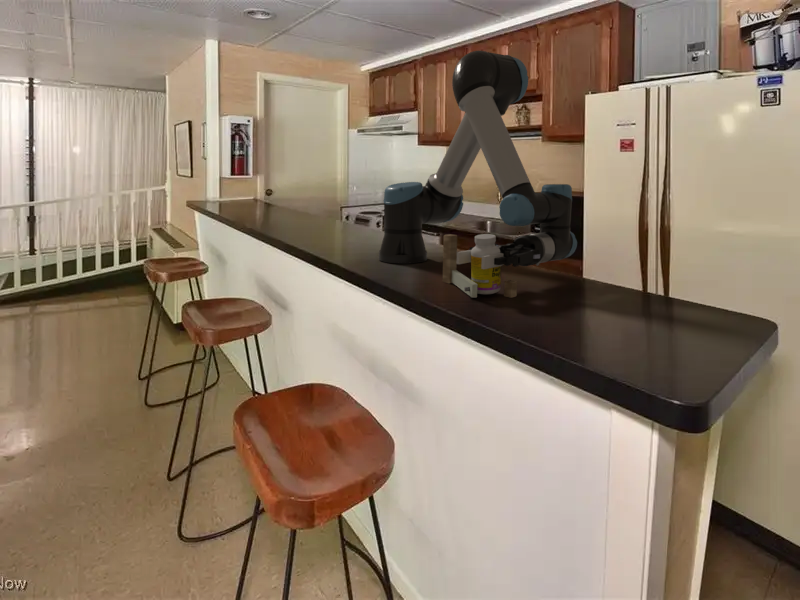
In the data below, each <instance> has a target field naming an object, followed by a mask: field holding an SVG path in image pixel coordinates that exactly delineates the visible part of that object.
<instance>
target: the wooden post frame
mask: <svg viewBox="0 0 800 600" xmlns="http://www.w3.org/2000/svg"><path fill="white" fill-rule="evenodd" d="M442 244H443V247H442V250H443V251H442V283H445V284H449V285H450V284H453V283H452V270H457V264H456V261H457V252H458V235H457V234H450V233H448V234H444V235H443V243H442ZM503 290H504V291H503V297H506V298H510V299H511V298H515V297H517V294H518V292H517V291H518V281H517V280H511V279H509V280H505V281H504V289H503Z"/></svg>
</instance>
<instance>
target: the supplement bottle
mask: <svg viewBox="0 0 800 600" xmlns="http://www.w3.org/2000/svg"><path fill="white" fill-rule="evenodd" d="M496 241H497V237H496V235H495V234H493V233H491V234H489V233H484V234H483V233H482V234H477V235H475V236H474V243H475V246H473V247H474V248H472V250H471V262H470V265H471V266H470V269H471V271H470V272H471V274H470V275H471V280H472V281H473V282H475V283H476V284H478V285H477V295H478V294H479V295H493V294H496V293H498V292H499V291H500V290H501V287H502V285H501V284H502V281H501V279H502V277H501V275H502V273H501V272H502V271H501V269H502V268H501V267H502V266H498V267H493V268H488V269H481V265H482V256H488V255H493V254H499V253H500V249H499V248H498V247H497V246H495V244H496Z"/></svg>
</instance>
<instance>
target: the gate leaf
mask: <svg viewBox="0 0 800 600" xmlns="http://www.w3.org/2000/svg"><path fill="white" fill-rule="evenodd" d="M451 284H453V285H455V286H457V287H458V288H459V289H460V290H461V291H462V292H464V293H465V294H466V295H468V296H469V297H470V298H475V299H476V298H477V297H478V293H477V285H478V284H476V283H475V282H473V281H472V279H471V278H469V277H467V276H466V275H465V274H463V273H461V272H460V271H458V270H457V269H456V270H452V283H451Z"/></svg>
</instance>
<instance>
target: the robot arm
mask: <svg viewBox="0 0 800 600" xmlns="http://www.w3.org/2000/svg"><path fill="white" fill-rule="evenodd" d="M451 79H452V82H451V84H452V91H453V96H454V98H455V100H456V101H455V102H456V104H457V107H458V108H459V110H460V111H462V112H464V115H463V116H462V119H461V120H460V123H459V125H458V127H457V129H456V132H454V133H455V134H454V136H453V138H452V140H451V142H450V144H449V146H448V147H447V150H446V153H445V154H444V156H443V159H442V161H441V162H440V165H439V167H438V170H437V172H436V173H435V172H434V173H432V174H430V175H429V176H428V179H427V180H426V183H425V185H423V183H421V181H407V182H398V183H392V184H390V185H387V187H385V189H384V191H383V192H384V194H383V195H384V196H383V197H384V198H383V213H384V214H383V215H384V217H383V218H384V220H383V221H384V223H383V224H384V225H383V228H384V231H383V232H384V233H383V238H382V242H381V245H380V250H379V251H378V261H379V262H380V261H381V262H384V263H387V264H388V263H390V264H416V263H417V264H418V263H423V262H426V261H427V260H428V251H427V250H426V246H425V244H426V243H425V241H424V238H423V225H424V224H426V225H427V224H440V223H441V224H442V223H447V222H451V221H453V220H455V219H456V218H458V216H459V215H460V214H461V212H462V210H463V206H464V202H463V201H464V195H463V193H464V190H463V186H462V185H463V183H464V181H465V179H466V177H467V175H468V174H469V171H470V170H471V167H472V166H473V163H474V162H475V160H476V158H477V156H478V154H479V152H480V150H481V151H482V153H483V154H482V155H484V159H485V161H486V163H487V165H488V167H489V170H490V172H491V174H492V177H493V180H494V181H495V184H496V186H497V189H498V191H499V193H500V195H501V201H500V203H499V216H500V219H501V220H502V221H503V223H505V224H506V225H508V226H511V227H525V226H528V225H536V224H539V232H538V233H531V234H526V235H525V234H524V235H519V236H518V237H516V238H515V239H514V241H513V242H512V243H506V244H498V243H495V246H497V247H498V248H499V249H500V253H499V254H493V255H488V256H482V265H481V269H488V268H493V267H498V266H501V267H502V266H506V267H508V266H511V265H512V267H515V268H516V267H519V266H521V267H529V266H534V265H535V266H540V264H541V263H547V262H552V261H561V260H563V259H566V258H569V257H571V256H572V255H574V253H575V252H576V250H577V247H578V240H577V238H576V235H575V234H574V232H572V231H571V221H572V207H573V204H572V203H573V197H572V196H573V187H572V185H570V184H566V183H554V184H553V183H552V184H551V183H550V184H546V183H545V184H543V185H542V186H541V191H540V192H535V190H534V187H533V186H532V184H531V181H530V178H529V175H528V174H527V172H526V169H525V167H524V165H523V163H522V161H521V157H520V156H519V154H518V151H517V149H516V147H515V145H514V142H513V140H512V138H511V135H510V133H509V131H508V128H507V126H506V124H505V122H504V119H503V118H502V116H504V115H505V114H506V112H507V110H508V109H509V106H510V105H511V104H515V103H516V102H519V101H520V100H521V99H523V97H524V96H525V94H526V93H527V92H526V91H527V90H528V88H529V87H528V86H529V76H528V69H527V66H526V65H525V64H524V62H523V61H522V60H521V59H519V58H517V57H514V56H512V55H509V54H501V53H500V54H499V53H495V52H489V51H485V50H474V51H471V52H468V53H467V54H465V55H463V56H462V57H461V58H460V59H459V60H458V62H457V63H456V66H455V68H454V70H453V74H452V78H451ZM474 247H475V246H471V247H469V249H468V250H461V251H457V261H456V265H463V264H467V263H471V250H472V248H474Z"/></svg>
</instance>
